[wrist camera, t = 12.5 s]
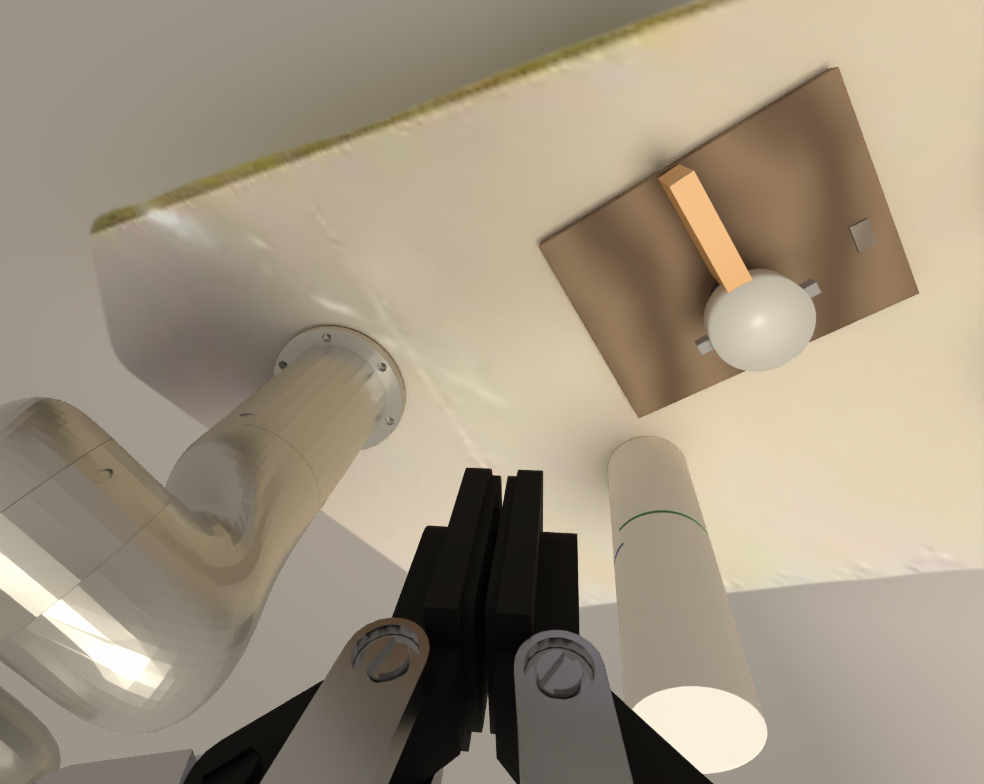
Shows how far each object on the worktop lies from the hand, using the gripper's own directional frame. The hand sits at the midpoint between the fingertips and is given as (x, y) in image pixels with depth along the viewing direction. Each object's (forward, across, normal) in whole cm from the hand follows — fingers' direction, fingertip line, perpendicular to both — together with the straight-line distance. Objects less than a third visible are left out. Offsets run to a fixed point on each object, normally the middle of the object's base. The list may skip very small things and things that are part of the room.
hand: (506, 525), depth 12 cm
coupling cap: (+33, -12, +1) cm, 35 cm away
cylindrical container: (+36, -9, +21) cm, 42 cm away
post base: (+35, -13, +2) cm, 37 cm away
